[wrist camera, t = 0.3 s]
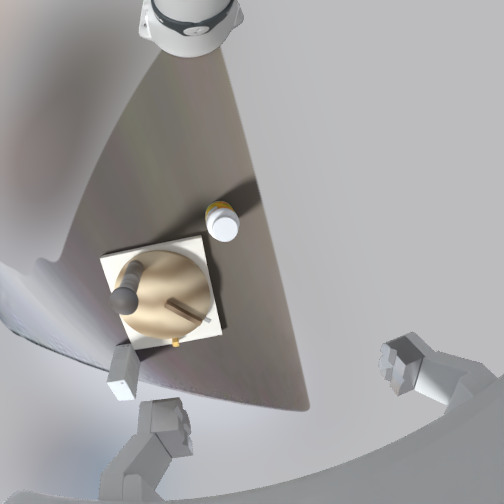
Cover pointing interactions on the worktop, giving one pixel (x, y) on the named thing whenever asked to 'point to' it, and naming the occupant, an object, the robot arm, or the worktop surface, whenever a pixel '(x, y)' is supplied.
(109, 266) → the dial stand
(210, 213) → the supplement bottle
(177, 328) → the dial
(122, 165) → the worktop surface
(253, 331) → the worktop surface
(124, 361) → the skincare box
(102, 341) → the worktop surface
